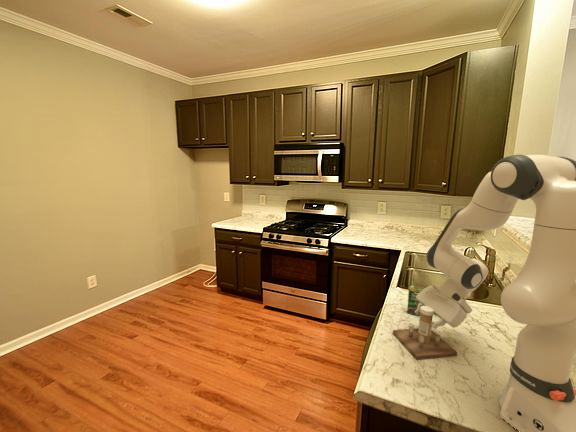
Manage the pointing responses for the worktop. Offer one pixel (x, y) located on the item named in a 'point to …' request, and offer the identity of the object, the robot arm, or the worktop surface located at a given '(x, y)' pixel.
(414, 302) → the coffee box
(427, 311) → the sprinkles bottle
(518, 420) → the robot arm
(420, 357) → the pin board
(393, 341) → the worktop surface
